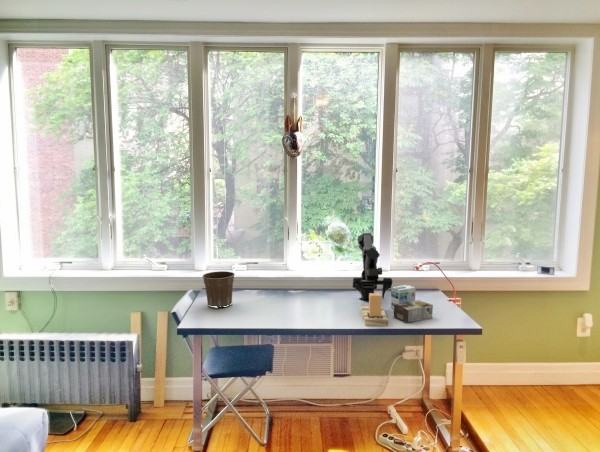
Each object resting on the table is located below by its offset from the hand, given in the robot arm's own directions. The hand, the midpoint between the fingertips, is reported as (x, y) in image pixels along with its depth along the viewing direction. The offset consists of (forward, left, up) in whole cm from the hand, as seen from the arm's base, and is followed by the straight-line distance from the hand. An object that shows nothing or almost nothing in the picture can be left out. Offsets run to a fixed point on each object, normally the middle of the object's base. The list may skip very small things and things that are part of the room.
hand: (373, 298), depth 202 cm
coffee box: (+15, +20, -5) cm, 26 cm away
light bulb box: (+2, +20, -9) cm, 22 cm away
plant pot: (-61, -49, -9) cm, 79 cm away
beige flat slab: (+2, -2, -8) cm, 9 cm away
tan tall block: (+6, -5, -8) cm, 11 cm away
